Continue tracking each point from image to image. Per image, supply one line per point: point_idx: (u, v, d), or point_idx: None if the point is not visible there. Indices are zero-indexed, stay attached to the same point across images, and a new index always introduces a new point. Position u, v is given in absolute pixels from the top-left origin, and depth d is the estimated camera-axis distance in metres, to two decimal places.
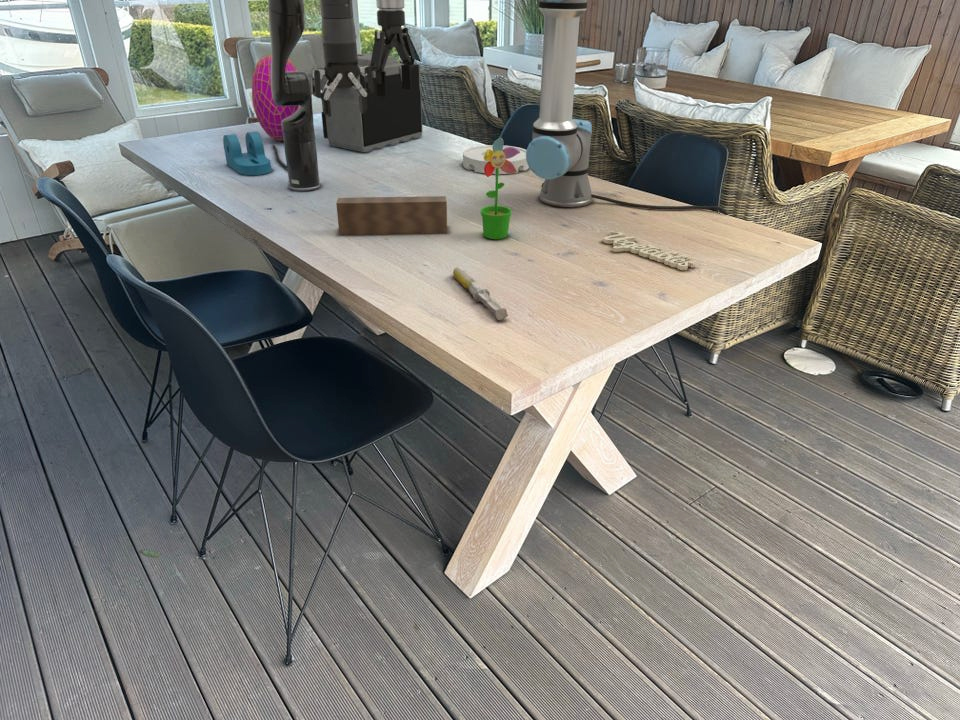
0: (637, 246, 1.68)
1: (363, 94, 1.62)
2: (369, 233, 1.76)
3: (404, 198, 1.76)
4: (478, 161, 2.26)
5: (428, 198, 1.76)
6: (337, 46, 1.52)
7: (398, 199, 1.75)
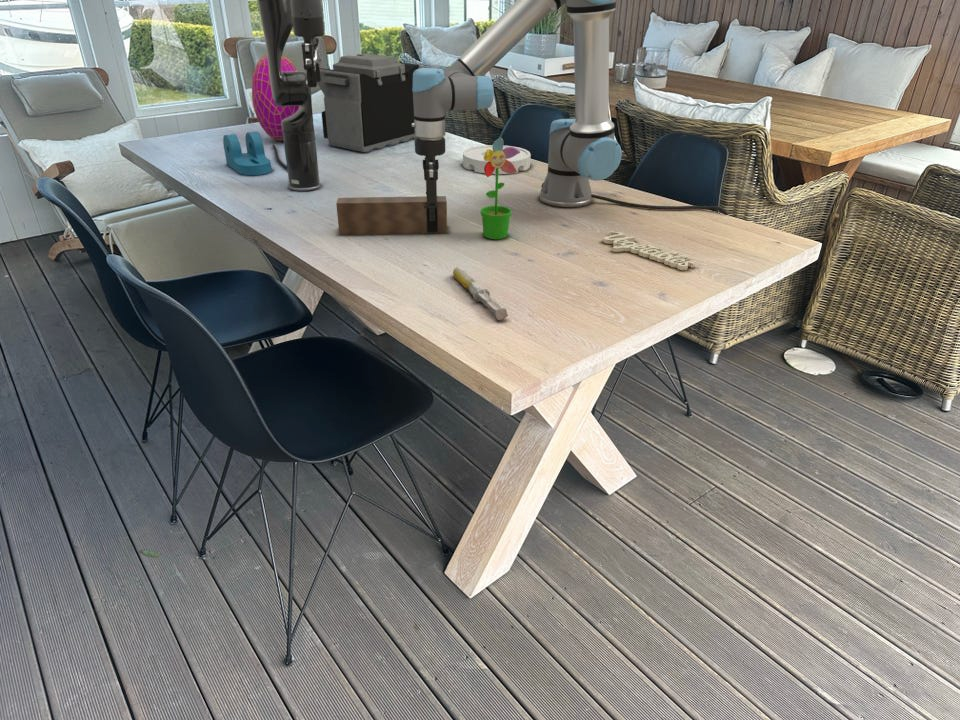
0: (637, 246, 1.68)
1: (319, 63, 1.80)
2: (369, 233, 1.76)
3: (404, 198, 1.76)
4: (478, 161, 2.26)
5: None
6: (320, 19, 1.70)
7: (398, 199, 1.75)
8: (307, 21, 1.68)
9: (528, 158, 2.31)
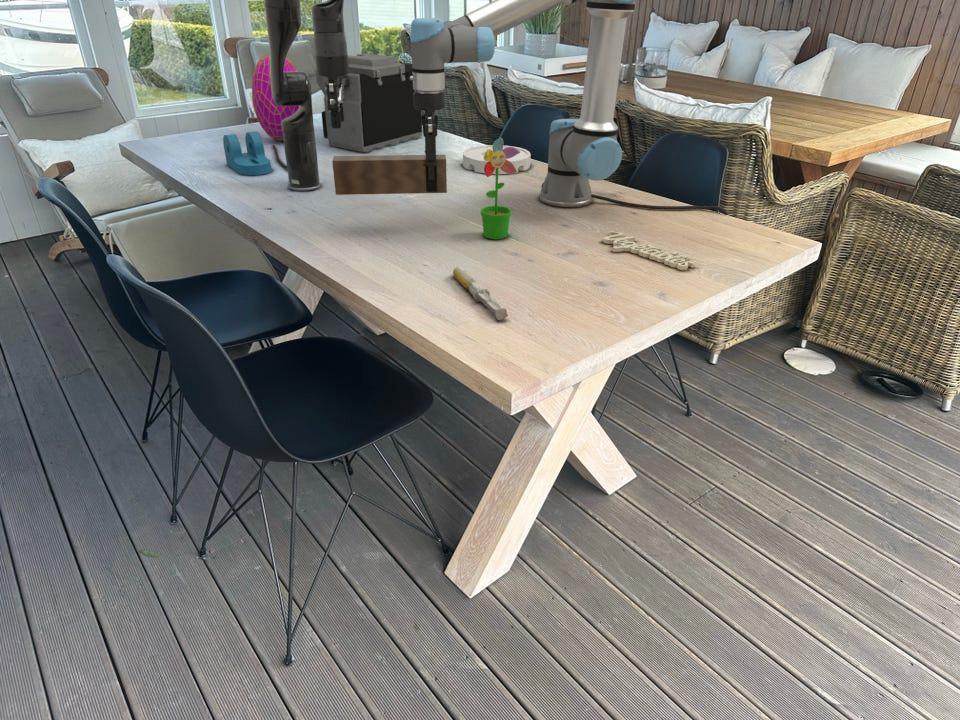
0: (637, 246, 1.68)
1: (343, 103, 1.71)
2: (366, 192, 1.71)
3: (402, 156, 1.70)
4: (478, 161, 2.26)
5: None
6: (345, 58, 1.61)
7: (396, 157, 1.69)
8: (331, 60, 1.59)
9: (528, 158, 2.31)
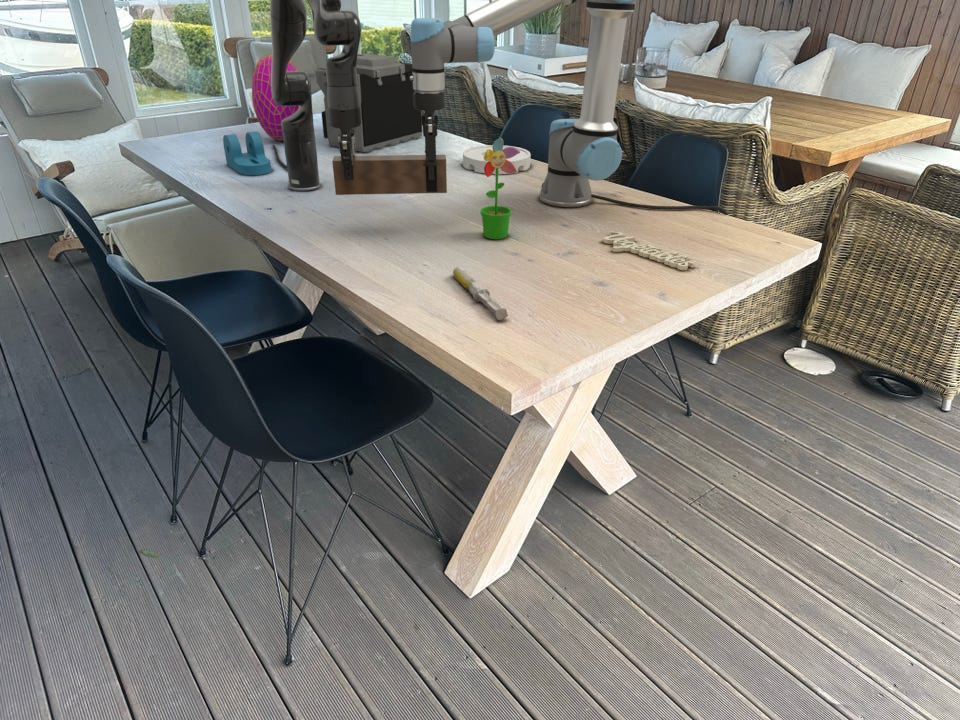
0: (637, 246, 1.68)
1: None
2: (366, 192, 1.71)
3: (402, 156, 1.70)
4: (478, 161, 2.26)
5: None
6: (358, 110, 1.62)
7: (396, 157, 1.70)
8: (344, 113, 1.60)
9: (528, 158, 2.31)
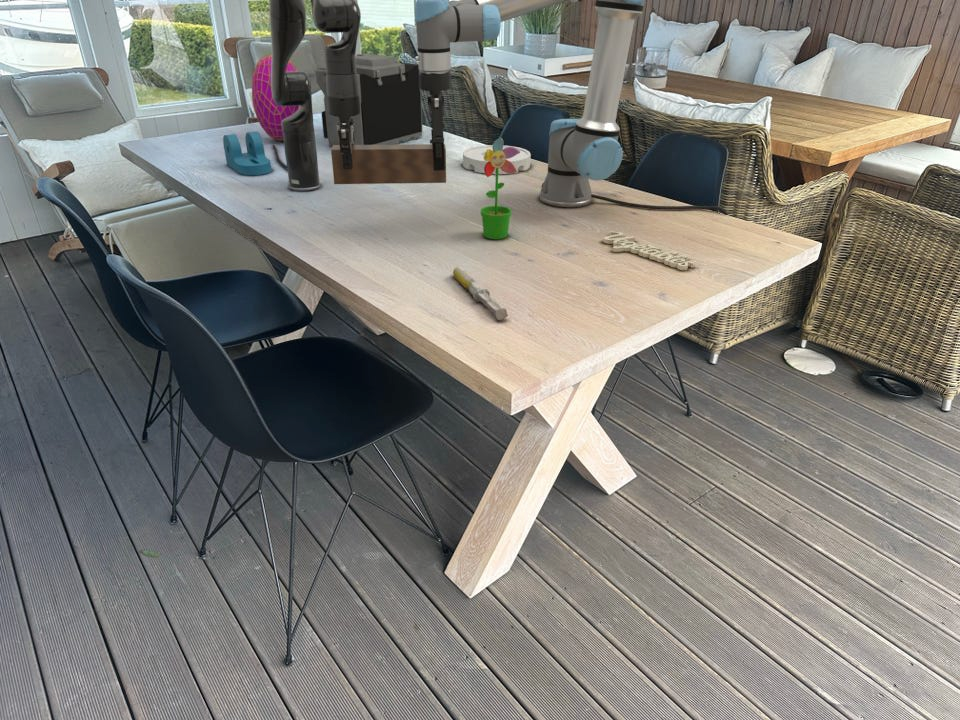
0: (637, 246, 1.68)
1: None
2: (365, 182, 1.70)
3: (402, 146, 1.69)
4: (478, 161, 2.26)
5: (426, 146, 1.69)
6: (357, 98, 1.60)
7: (396, 146, 1.68)
8: (343, 101, 1.58)
9: (528, 158, 2.31)
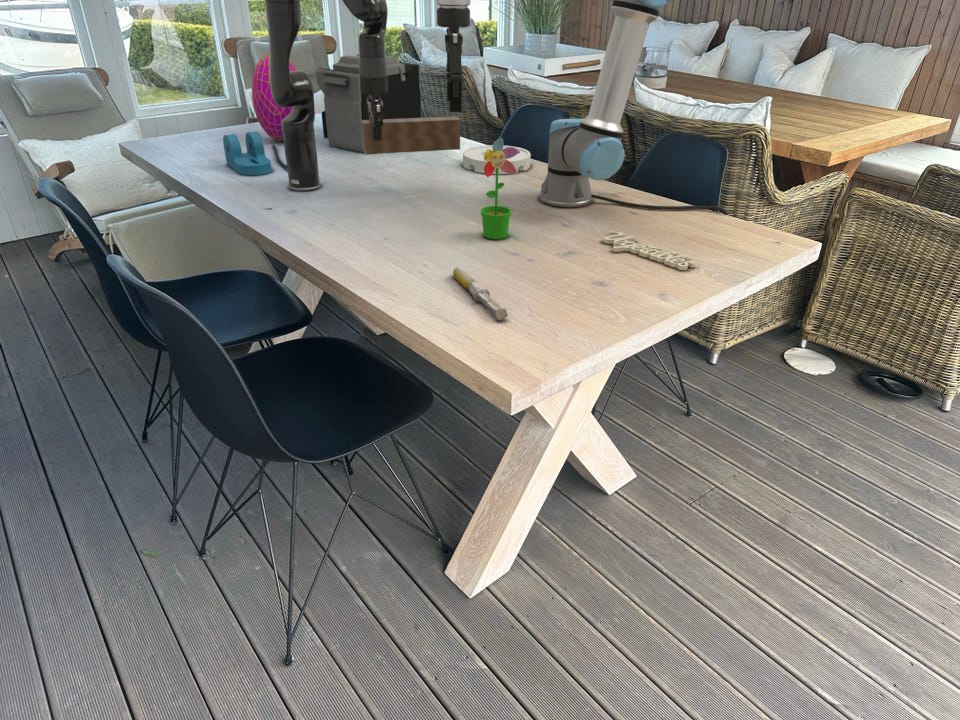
0: (637, 246, 1.68)
1: (378, 119, 1.96)
2: (392, 151, 1.96)
3: (421, 119, 1.97)
4: (478, 161, 2.26)
5: (442, 118, 1.98)
6: (386, 78, 1.87)
7: (417, 119, 1.96)
8: (376, 80, 1.84)
9: (528, 158, 2.31)
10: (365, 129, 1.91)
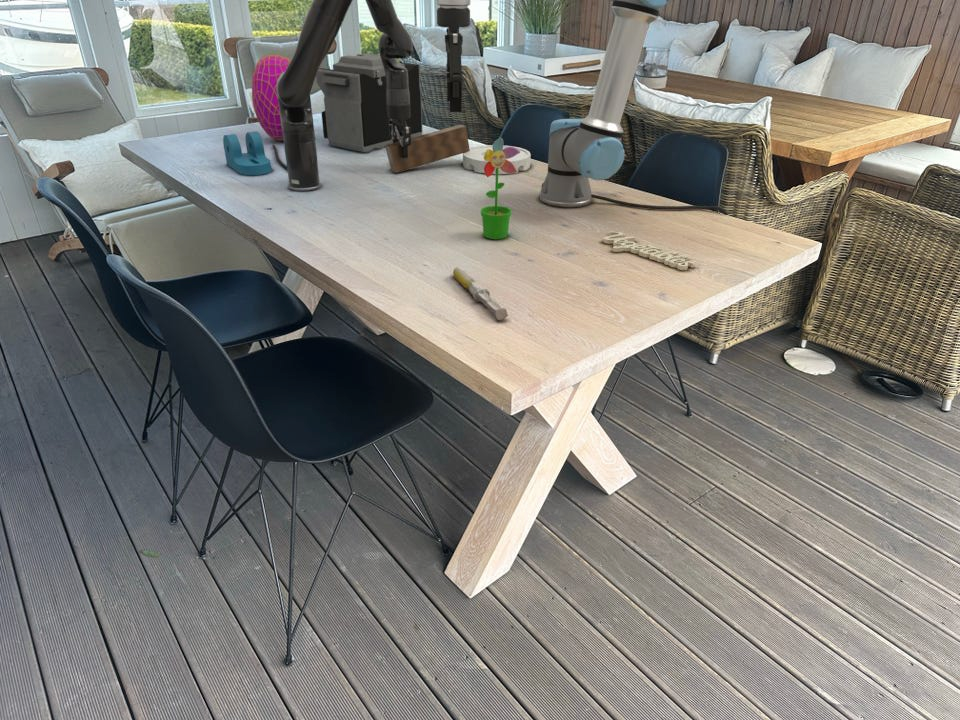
0: (637, 246, 1.68)
1: None
2: (416, 165, 2.28)
3: (433, 133, 2.29)
4: (478, 161, 2.26)
5: (450, 128, 2.31)
6: None
7: (430, 134, 2.28)
8: (403, 108, 2.16)
9: (528, 158, 2.31)
10: (392, 152, 2.22)
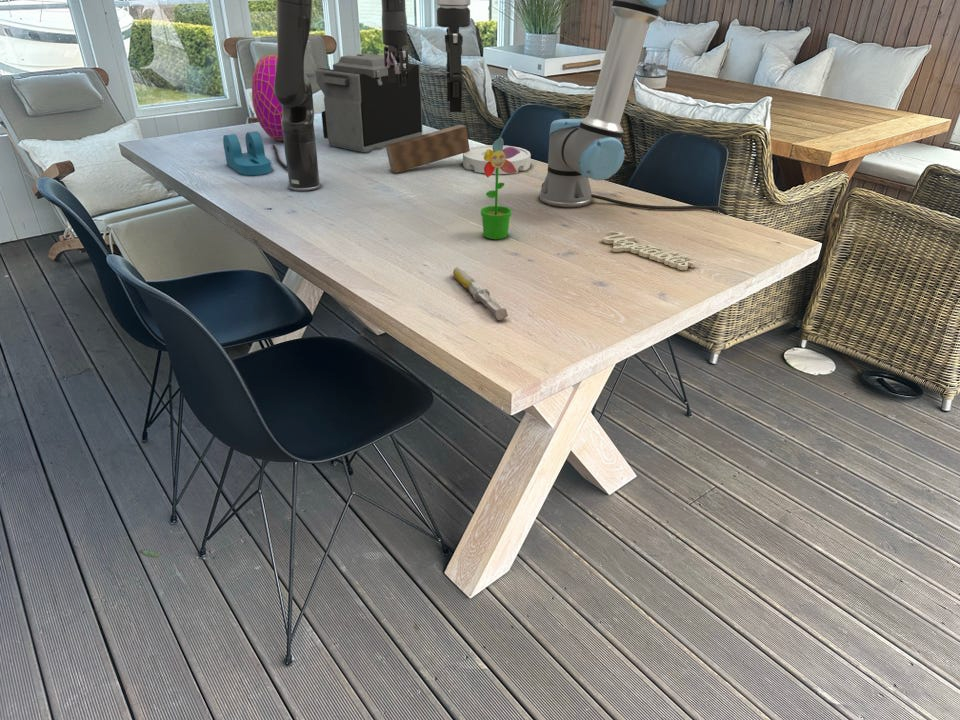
0: (637, 246, 1.68)
1: (394, 67, 2.17)
2: (416, 165, 2.28)
3: (433, 133, 2.29)
4: (478, 161, 2.26)
5: (450, 128, 2.31)
6: None
7: (430, 134, 2.28)
8: (400, 32, 2.05)
9: (528, 158, 2.31)
10: (392, 152, 2.22)
